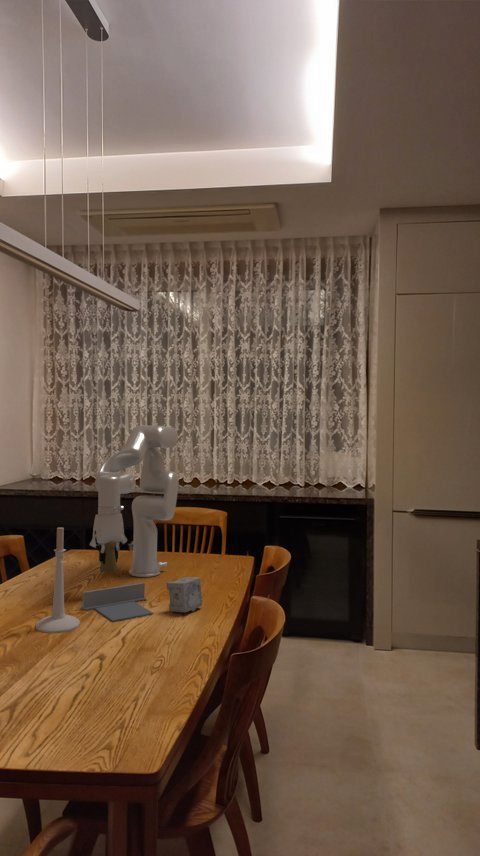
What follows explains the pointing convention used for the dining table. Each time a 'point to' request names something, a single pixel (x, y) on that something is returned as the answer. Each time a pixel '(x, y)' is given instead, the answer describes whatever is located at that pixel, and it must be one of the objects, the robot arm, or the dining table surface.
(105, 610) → the slate mat
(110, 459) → the robot arm
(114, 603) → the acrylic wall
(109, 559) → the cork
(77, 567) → the dining table surface
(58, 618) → the candlestick
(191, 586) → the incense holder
